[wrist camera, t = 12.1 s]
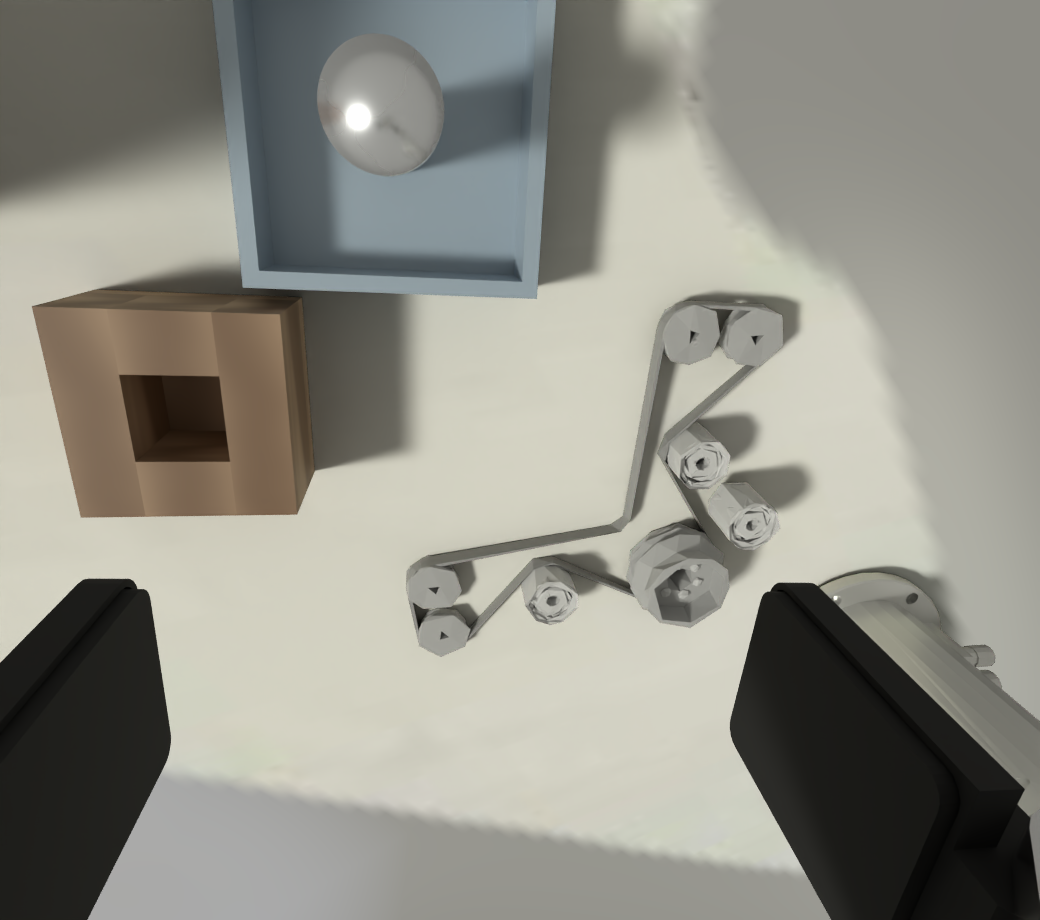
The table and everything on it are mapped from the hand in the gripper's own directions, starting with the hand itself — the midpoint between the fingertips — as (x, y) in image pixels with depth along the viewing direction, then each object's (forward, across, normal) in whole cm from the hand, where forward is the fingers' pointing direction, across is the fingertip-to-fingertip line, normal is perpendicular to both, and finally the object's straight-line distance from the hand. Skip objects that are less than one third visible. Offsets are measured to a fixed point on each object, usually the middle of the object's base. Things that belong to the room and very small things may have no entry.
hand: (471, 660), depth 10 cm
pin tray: (+24, +3, -9) cm, 26 cm away
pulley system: (+25, -10, +10) cm, 29 cm away
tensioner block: (+24, +11, +2) cm, 26 cm away
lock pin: (+23, +3, -9) cm, 25 cm away
